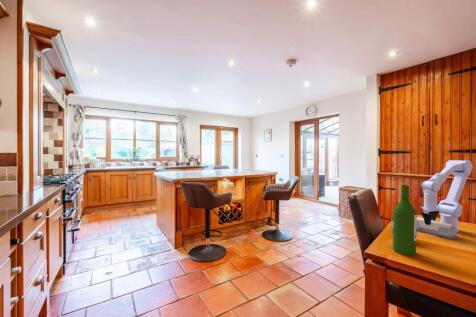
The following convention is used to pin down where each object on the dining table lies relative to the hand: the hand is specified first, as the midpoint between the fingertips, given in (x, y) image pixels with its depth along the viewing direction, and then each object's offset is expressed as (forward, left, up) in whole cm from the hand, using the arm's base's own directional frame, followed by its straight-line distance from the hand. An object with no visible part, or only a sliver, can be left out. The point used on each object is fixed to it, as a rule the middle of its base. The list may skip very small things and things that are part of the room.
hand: (429, 223), depth 126 cm
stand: (0, 0, -5) cm, 5 cm away
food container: (+24, -5, -6) cm, 25 cm away
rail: (0, 0, -2) cm, 2 cm away
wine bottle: (+42, +2, -6) cm, 42 cm away
